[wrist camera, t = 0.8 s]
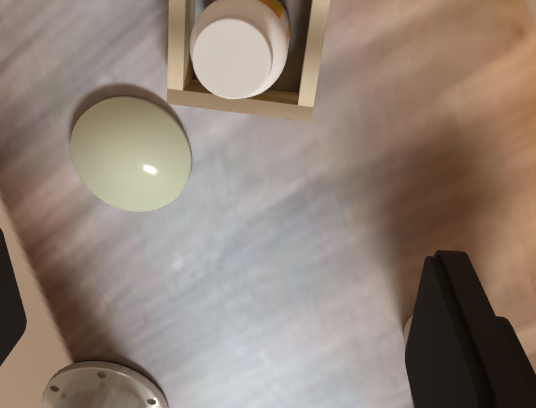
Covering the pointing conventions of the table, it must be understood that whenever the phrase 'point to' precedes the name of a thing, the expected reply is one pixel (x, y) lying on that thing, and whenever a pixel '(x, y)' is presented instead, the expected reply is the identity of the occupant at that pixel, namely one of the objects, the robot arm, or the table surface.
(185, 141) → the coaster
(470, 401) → the robot arm
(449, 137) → the table surface
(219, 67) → the supplement bottle
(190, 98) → the can holder
